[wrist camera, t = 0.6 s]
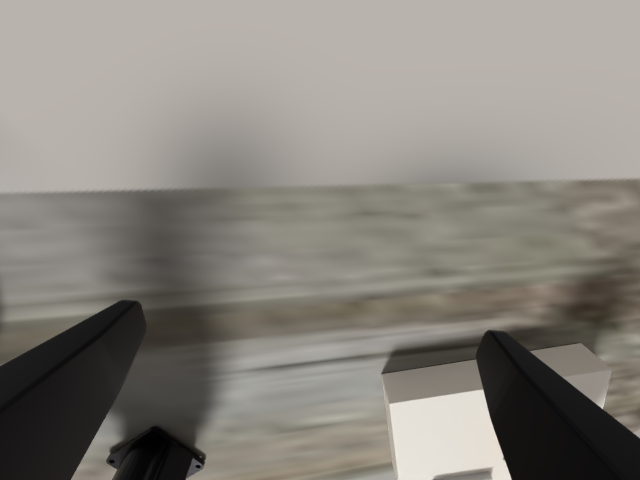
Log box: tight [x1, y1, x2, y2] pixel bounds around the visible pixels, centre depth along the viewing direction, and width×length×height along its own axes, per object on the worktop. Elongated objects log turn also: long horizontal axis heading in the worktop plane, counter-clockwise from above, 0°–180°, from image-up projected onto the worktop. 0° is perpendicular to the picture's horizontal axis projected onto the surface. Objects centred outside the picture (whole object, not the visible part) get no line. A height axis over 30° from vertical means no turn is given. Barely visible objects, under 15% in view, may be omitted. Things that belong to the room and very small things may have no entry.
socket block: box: [381, 343, 612, 480], centre depth 28 cm, size 17×12×4 cm
